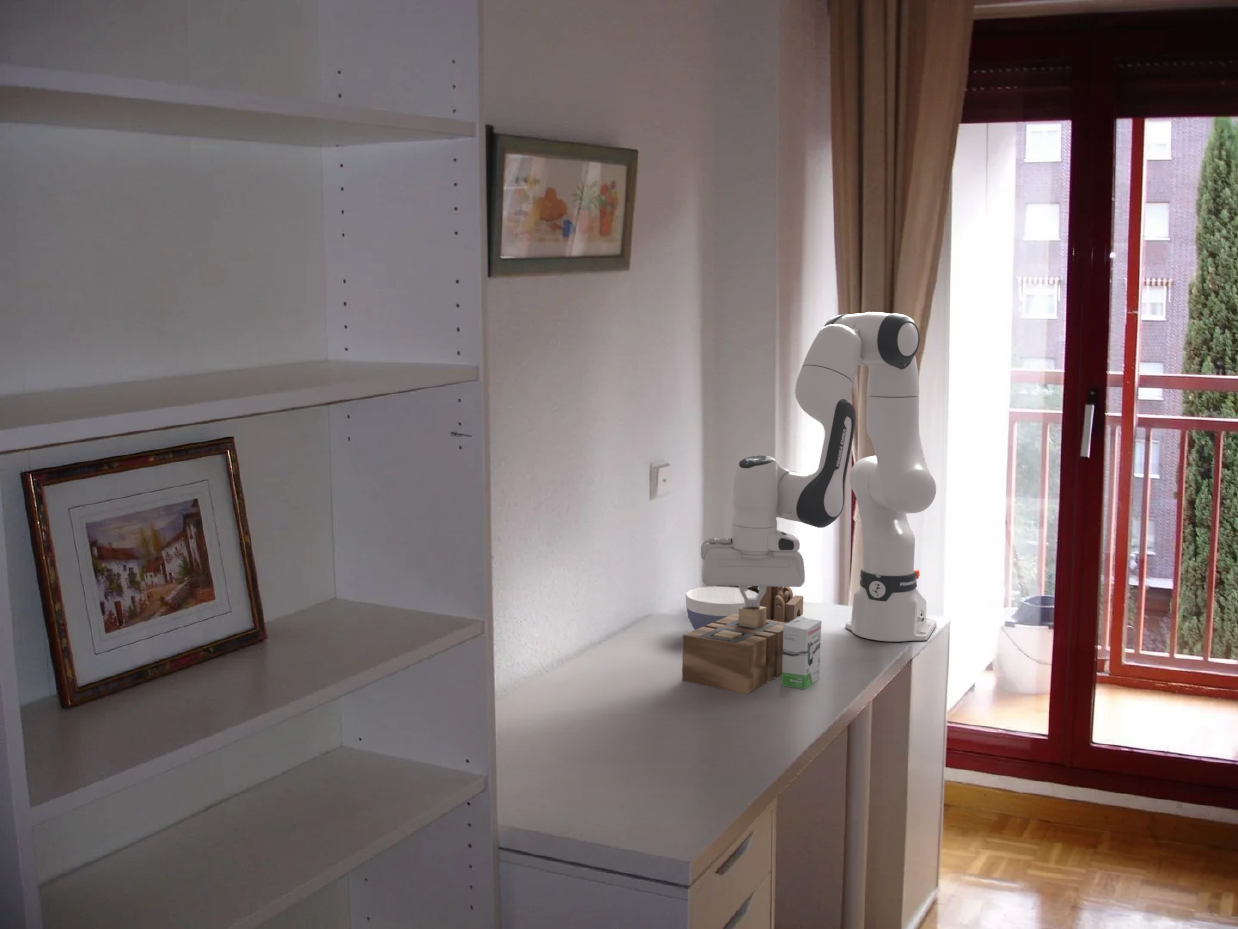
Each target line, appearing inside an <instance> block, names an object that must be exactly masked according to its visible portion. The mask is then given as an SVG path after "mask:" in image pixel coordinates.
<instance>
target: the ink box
mask: <svg viewBox="0 0 1238 929" xmlns="http://www.w3.org/2000/svg"><path fill="white" fill-rule="evenodd" d="M785 623H786V624H784V626H783V655H782V675H781V686H783V687H790V688H794V689H795V688H796V689H801V690H806V689H807V688H809V686H811V685H812V684H814V683H815V682H816V681H818V680H819V679H820V677H821V676H820V672H821V671H820V669H821V668H820V667H821V641H822V640H821V638H822V634H821V633H822V620H818V619H814V618H808V617H803V616H802V617H801V616H799V617H797V618H796V619H794V620H792V621H790V622H785Z"/></svg>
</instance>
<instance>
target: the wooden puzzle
mask: <svg viewBox="0 0 1238 929" xmlns="http://www.w3.org/2000/svg"><path fill="white" fill-rule="evenodd" d="M715 587H735V588H739V586H715ZM747 590H751V591H753V592H756V593H757V594H758V593H759V592H760V591H759V590H758V586H747ZM760 606H762V607H766V620H772V621H778V622H784V623H788V622H790V621H792V620H794V619H796V618H798V617H797V616H799V617H801V616H802V614H804V596H803V595H796V594H794V592H793V590H792V587H774V586H766V593H765V594H764V596H763V597H762V599H761V600H760Z"/></svg>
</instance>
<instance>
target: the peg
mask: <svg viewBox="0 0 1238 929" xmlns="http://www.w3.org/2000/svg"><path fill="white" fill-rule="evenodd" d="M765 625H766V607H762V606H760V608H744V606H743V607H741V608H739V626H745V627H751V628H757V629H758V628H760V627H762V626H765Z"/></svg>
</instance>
